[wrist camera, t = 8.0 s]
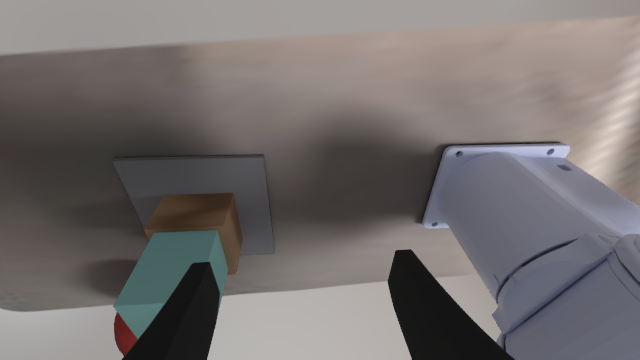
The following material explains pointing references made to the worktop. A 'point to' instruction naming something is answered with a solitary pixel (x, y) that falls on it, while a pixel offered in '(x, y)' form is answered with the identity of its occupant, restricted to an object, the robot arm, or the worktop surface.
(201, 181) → the mat
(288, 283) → the worktop surface
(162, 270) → the teal block
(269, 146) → the worktop surface
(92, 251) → the worktop surface
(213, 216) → the walnut block
